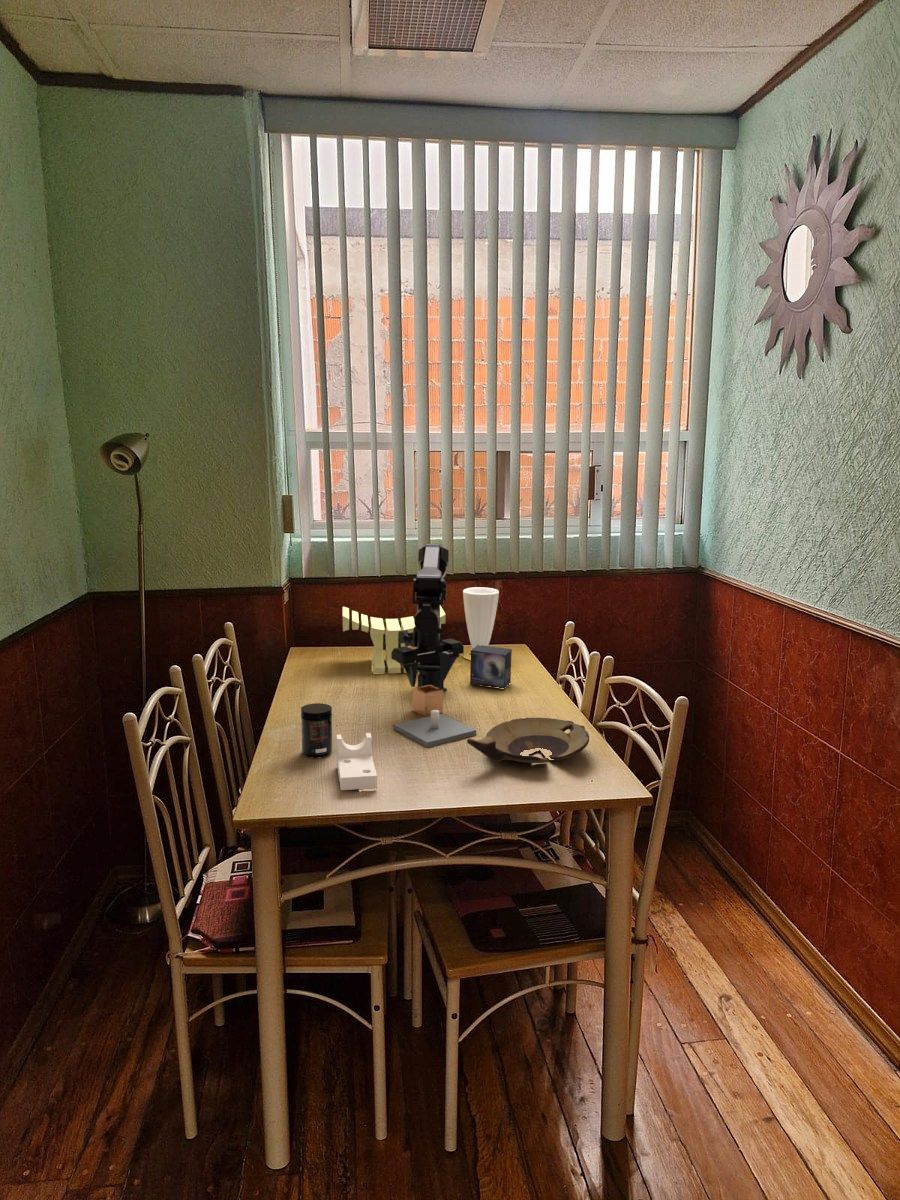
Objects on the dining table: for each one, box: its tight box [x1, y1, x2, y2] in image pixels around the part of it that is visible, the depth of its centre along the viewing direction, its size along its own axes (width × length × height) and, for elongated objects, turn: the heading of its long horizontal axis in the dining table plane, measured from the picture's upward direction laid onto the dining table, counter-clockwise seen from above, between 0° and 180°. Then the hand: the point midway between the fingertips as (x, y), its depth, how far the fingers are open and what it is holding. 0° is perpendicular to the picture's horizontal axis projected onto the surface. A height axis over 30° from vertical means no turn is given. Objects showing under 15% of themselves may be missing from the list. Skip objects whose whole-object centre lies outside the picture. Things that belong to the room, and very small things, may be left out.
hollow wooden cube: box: [411, 684, 444, 717], centre depth 206 cm, size 6×6×6 cm
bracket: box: [336, 732, 378, 791], centre depth 165 cm, size 13×7×8 cm, turn 11°
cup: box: [462, 586, 500, 655], centre depth 257 cm, size 12×12×22 cm
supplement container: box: [300, 702, 333, 759], centre depth 178 cm, size 7×7×10 cm
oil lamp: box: [466, 717, 590, 764], centre depth 178 cm, size 22×30×8 cm
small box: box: [469, 645, 513, 688], centre depth 229 cm, size 11×6×10 cm, turn 68°
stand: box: [393, 710, 477, 748], centre depth 192 cm, size 14×14×5 cm
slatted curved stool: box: [342, 605, 447, 674], centre depth 245 cm, size 30×16×18 cm, turn 97°
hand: (427, 683), depth 205 cm, fingers open, 9 cm apart
